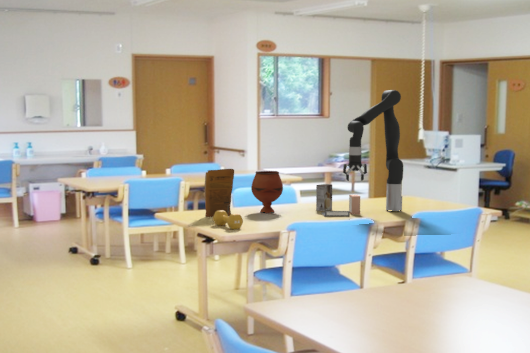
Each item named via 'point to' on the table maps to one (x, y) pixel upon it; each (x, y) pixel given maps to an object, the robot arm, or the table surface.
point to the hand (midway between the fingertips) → (354, 180)
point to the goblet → (267, 188)
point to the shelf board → (336, 213)
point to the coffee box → (324, 197)
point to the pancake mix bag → (218, 191)
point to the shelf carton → (354, 204)
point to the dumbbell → (228, 219)
